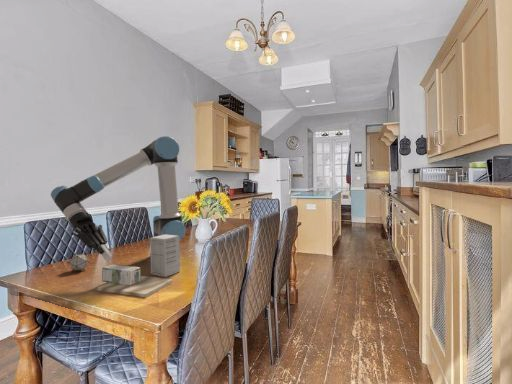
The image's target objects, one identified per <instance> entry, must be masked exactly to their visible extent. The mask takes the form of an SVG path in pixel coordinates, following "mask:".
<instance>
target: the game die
mask: <svg viewBox="0 0 512 384" xmlns="http://www.w3.org/2000/svg"><path fill="white" fill-rule="evenodd" d="M86 254H87V252H84V254H80V253H79V254H75V253H73V256H72V257H71V259H70V260H69V261H66V263H67V264H69V266H70V268H71V273H73V272H74V271H83V272H85V271H86V270H85V269H86V267H87V266H88V264H89V263H91V261H89V259H88V257H87V255H86Z"/></svg>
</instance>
